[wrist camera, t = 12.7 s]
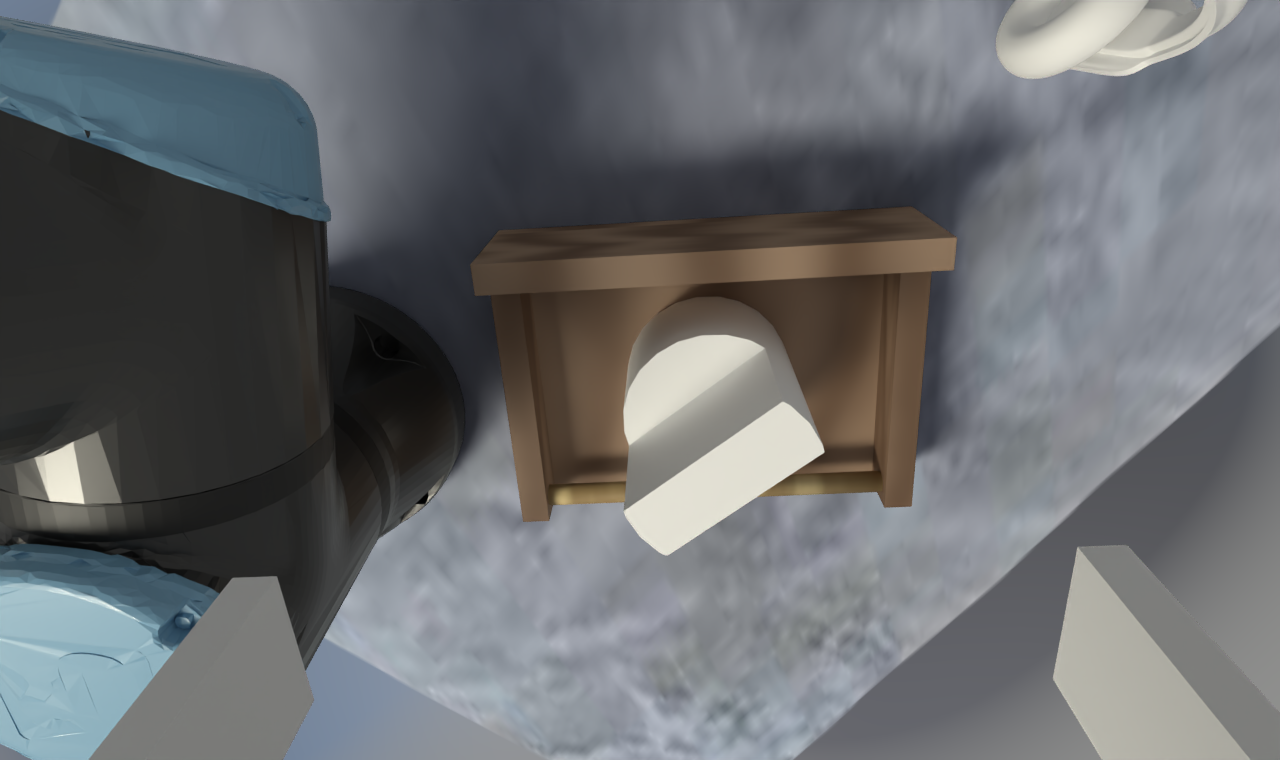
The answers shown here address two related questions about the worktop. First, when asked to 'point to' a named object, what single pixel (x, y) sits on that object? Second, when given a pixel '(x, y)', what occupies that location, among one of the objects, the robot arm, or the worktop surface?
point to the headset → (1104, 34)
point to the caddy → (730, 268)
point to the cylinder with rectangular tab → (708, 418)
